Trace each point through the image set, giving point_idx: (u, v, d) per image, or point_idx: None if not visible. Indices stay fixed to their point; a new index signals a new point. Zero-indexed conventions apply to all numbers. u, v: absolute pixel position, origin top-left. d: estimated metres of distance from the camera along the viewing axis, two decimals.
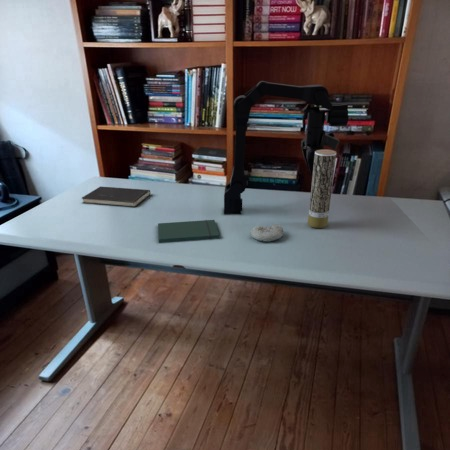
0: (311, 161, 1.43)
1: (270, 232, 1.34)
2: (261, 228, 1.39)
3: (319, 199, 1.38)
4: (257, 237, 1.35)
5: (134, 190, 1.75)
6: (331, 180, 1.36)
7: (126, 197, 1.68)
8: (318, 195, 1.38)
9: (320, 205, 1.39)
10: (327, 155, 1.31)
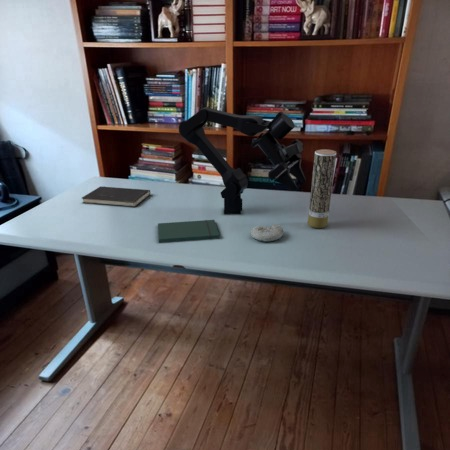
0: (282, 179, 1.38)
1: (270, 232, 1.34)
2: (261, 228, 1.39)
3: (319, 199, 1.38)
4: (257, 237, 1.35)
5: (134, 190, 1.75)
6: (331, 180, 1.36)
7: (126, 197, 1.68)
8: (318, 195, 1.38)
9: (320, 205, 1.39)
10: (327, 155, 1.31)
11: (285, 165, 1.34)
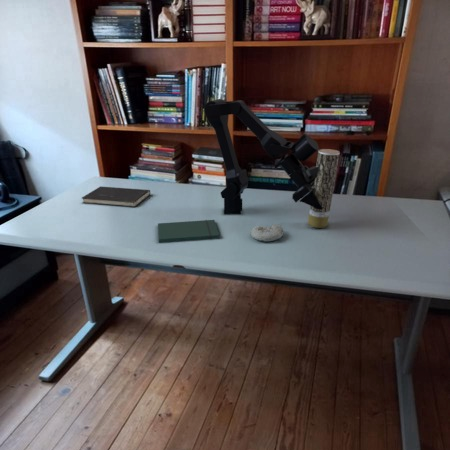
0: (307, 200, 1.39)
1: (270, 232, 1.34)
2: (261, 228, 1.39)
3: (321, 198, 1.38)
4: (257, 237, 1.35)
5: (134, 190, 1.75)
6: (333, 180, 1.36)
7: (126, 197, 1.68)
8: (320, 195, 1.38)
9: (321, 205, 1.39)
10: (331, 154, 1.31)
11: (309, 187, 1.34)
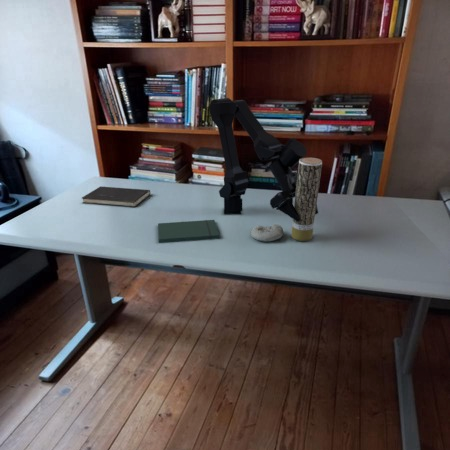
0: (284, 209, 1.31)
1: (270, 232, 1.34)
2: (261, 228, 1.39)
3: (299, 210, 1.30)
4: (257, 237, 1.35)
5: (134, 190, 1.75)
6: (313, 192, 1.26)
7: (126, 197, 1.68)
8: (299, 206, 1.29)
9: (300, 217, 1.31)
10: (308, 164, 1.21)
11: (286, 195, 1.27)
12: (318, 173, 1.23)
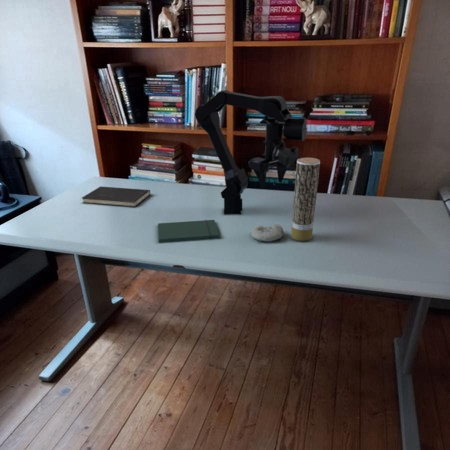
0: (257, 172, 1.42)
1: (270, 232, 1.34)
2: (261, 228, 1.39)
3: (299, 210, 1.30)
4: (257, 237, 1.35)
5: (134, 190, 1.75)
6: (312, 191, 1.26)
7: (126, 197, 1.68)
8: (298, 206, 1.30)
9: (299, 217, 1.31)
10: (306, 164, 1.22)
11: (266, 166, 1.37)
12: (316, 172, 1.24)
